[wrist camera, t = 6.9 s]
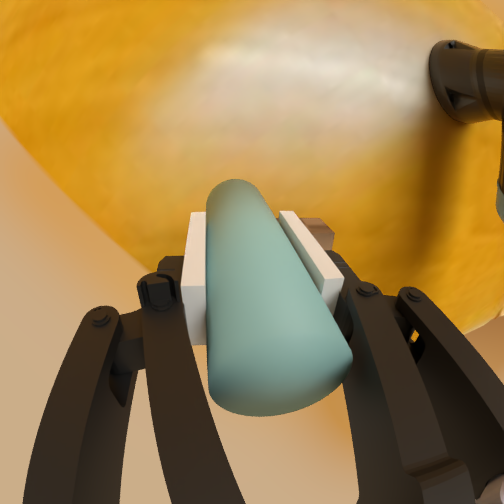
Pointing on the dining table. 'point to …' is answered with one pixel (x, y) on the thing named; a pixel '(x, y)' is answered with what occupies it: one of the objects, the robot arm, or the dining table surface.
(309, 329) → the peg
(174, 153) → the dining table surface
